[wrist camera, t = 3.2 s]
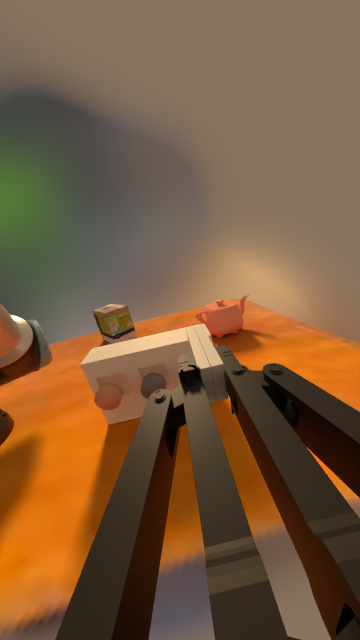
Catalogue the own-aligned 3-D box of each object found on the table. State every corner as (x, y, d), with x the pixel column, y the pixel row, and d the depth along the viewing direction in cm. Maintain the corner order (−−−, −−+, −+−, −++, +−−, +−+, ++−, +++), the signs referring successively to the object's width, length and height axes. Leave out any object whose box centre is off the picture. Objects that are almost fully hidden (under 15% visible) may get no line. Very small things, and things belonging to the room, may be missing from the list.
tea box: (138, 337, 77) (127, 304, 72) (116, 348, 71) (103, 313, 66) (122, 331, 88) (112, 302, 82) (102, 340, 82) (90, 310, 76)
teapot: (205, 345, 59) (199, 311, 55) (195, 332, 70) (189, 303, 66) (260, 329, 62) (258, 295, 57) (241, 319, 73) (239, 290, 68)
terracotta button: (99, 412, 31) (90, 393, 30) (102, 404, 33) (94, 386, 31) (124, 406, 31) (116, 387, 30) (126, 399, 33) (118, 380, 32)
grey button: (144, 402, 32) (137, 382, 30) (145, 395, 33) (138, 376, 32) (168, 396, 32) (162, 376, 30) (168, 389, 33) (162, 370, 32)
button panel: (108, 424, 37) (80, 364, 32) (115, 402, 43) (92, 348, 37) (221, 398, 37) (211, 335, 32) (213, 380, 43) (204, 323, 38)
